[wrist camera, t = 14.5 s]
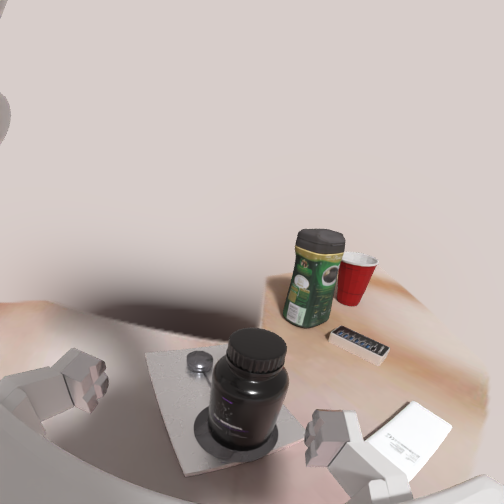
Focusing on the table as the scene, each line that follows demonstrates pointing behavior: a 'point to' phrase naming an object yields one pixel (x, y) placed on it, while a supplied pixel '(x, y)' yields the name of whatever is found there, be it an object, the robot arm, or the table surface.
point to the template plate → (204, 411)
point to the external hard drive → (410, 438)
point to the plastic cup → (354, 277)
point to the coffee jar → (314, 277)
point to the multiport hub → (359, 345)
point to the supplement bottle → (248, 389)
